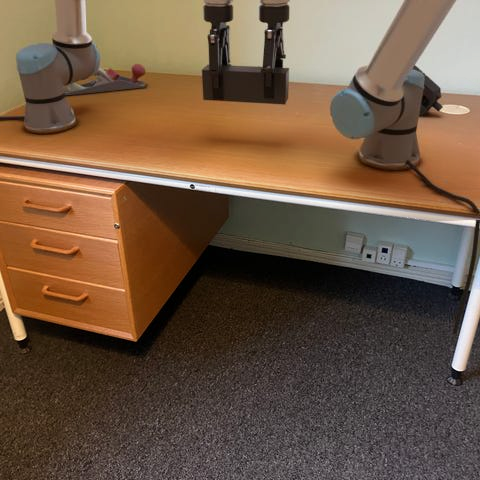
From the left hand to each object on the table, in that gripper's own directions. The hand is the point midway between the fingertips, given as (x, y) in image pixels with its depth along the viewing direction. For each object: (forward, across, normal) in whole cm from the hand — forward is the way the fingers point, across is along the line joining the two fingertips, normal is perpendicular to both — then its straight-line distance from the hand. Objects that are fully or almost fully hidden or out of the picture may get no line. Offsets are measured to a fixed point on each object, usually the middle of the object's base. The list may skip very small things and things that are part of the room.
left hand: (220, 95), depth 146 cm
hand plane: (+13, -42, -56) cm, 71 cm away
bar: (+1, 0, +7) cm, 7 cm away
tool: (+13, -35, +53) cm, 65 cm away
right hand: (-2, 0, +15) cm, 15 cm away
